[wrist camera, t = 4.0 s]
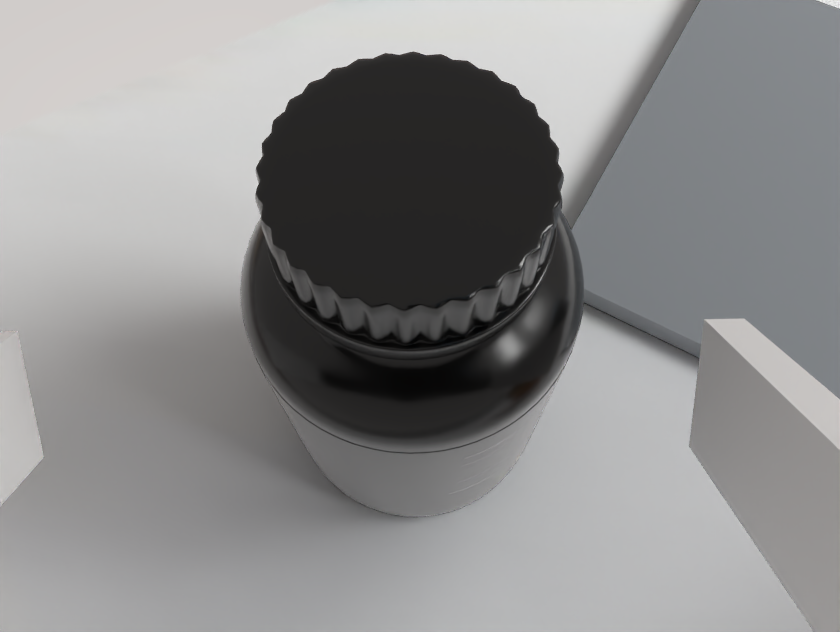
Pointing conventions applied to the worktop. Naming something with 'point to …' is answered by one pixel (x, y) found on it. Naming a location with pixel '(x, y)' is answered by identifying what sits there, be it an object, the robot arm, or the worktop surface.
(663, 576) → the worktop surface
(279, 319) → the supplement bottle
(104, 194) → the worktop surface
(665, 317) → the slate tile
